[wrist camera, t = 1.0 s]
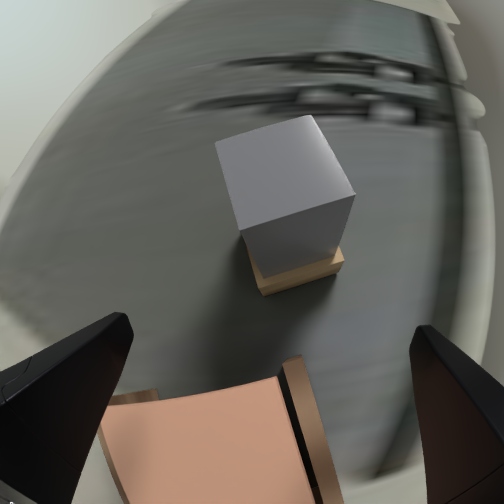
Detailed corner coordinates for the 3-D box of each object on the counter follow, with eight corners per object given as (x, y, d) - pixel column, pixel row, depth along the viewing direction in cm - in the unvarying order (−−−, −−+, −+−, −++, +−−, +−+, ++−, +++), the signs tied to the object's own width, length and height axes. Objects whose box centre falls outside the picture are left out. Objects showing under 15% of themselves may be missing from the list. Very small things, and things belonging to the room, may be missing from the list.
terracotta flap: (325, 534, 9) (326, 543, 8) (161, 544, 9) (155, 551, 8) (276, 375, 13) (275, 377, 12) (106, 405, 13) (96, 407, 12)
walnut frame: (339, 489, 15) (356, 549, 7) (188, 512, 16) (144, 560, 8) (300, 354, 20) (302, 358, 12) (146, 389, 20) (77, 400, 12)
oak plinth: (338, 272, 21) (344, 260, 18) (263, 296, 22) (258, 288, 19) (312, 205, 23) (313, 186, 21) (243, 227, 24) (235, 210, 21)
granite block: (334, 255, 19) (355, 194, 11) (263, 278, 19) (239, 230, 11) (309, 193, 20) (310, 114, 13) (243, 214, 21) (214, 142, 13)
